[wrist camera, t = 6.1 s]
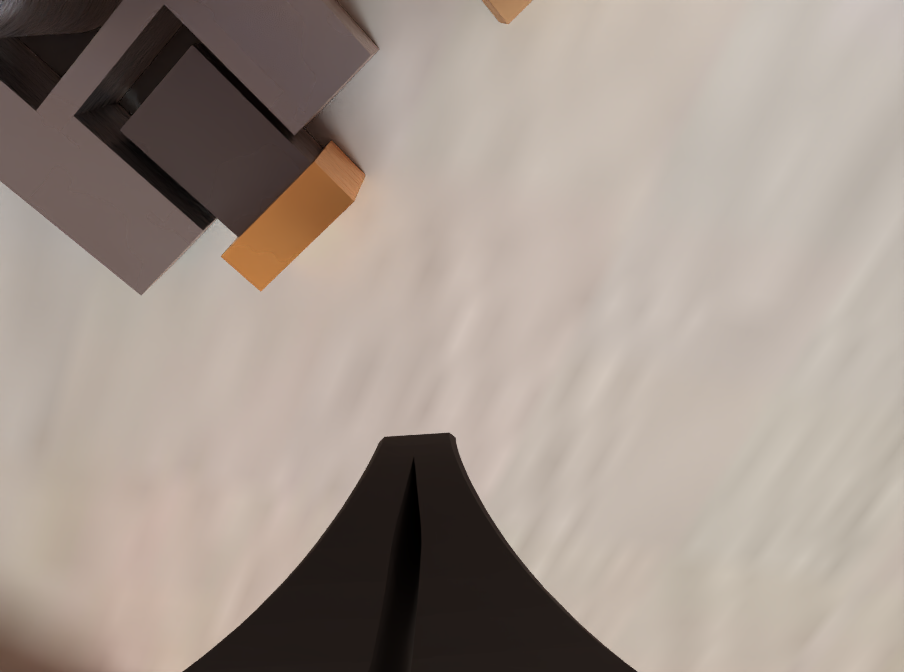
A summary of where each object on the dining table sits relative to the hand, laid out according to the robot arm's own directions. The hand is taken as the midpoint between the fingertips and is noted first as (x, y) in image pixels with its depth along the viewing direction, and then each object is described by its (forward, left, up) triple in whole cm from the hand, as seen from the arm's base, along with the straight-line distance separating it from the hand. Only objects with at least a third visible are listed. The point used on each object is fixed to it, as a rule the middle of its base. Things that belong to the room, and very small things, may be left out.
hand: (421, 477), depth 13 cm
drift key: (-7, 0, -7) cm, 10 cm away
